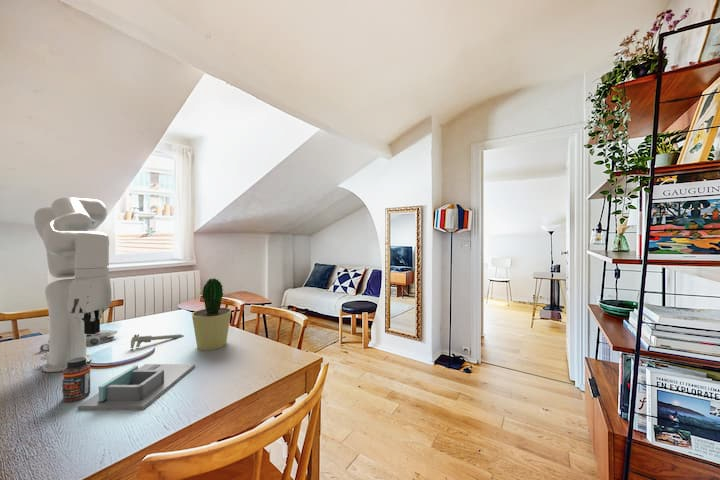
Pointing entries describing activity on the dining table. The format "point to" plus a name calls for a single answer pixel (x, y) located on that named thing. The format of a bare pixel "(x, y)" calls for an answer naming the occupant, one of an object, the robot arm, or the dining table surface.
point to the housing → (140, 387)
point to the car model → (90, 339)
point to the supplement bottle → (76, 380)
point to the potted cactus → (211, 318)
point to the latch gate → (116, 382)
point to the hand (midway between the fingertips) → (92, 333)
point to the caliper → (150, 338)
